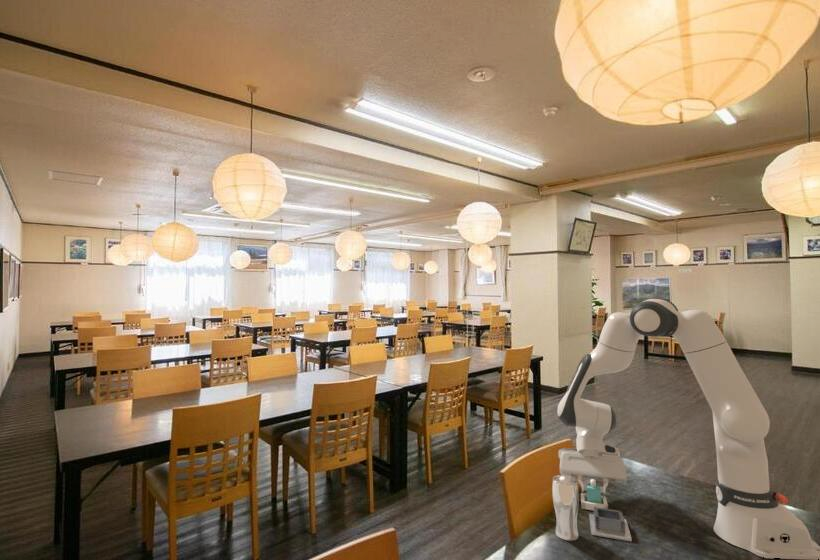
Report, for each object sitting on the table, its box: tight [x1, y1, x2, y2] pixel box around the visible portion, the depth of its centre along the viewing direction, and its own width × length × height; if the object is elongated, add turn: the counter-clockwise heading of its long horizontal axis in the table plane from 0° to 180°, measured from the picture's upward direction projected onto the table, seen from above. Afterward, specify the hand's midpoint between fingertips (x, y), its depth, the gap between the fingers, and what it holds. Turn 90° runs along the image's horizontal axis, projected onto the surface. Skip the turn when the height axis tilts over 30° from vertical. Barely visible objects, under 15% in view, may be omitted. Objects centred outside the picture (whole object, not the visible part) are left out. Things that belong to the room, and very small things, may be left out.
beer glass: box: [551, 474, 580, 542], centre depth 115 cm, size 7×7×15 cm
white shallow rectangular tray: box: [580, 492, 609, 512], centre depth 130 cm, size 8×6×2 cm
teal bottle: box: [585, 479, 602, 504], centre depth 130 cm, size 4×3×8 cm
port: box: [588, 507, 632, 543], centre depth 117 cm, size 10×10×4 cm
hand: (593, 492), depth 129 cm, fingers closed on teal bottle, 4 cm apart
